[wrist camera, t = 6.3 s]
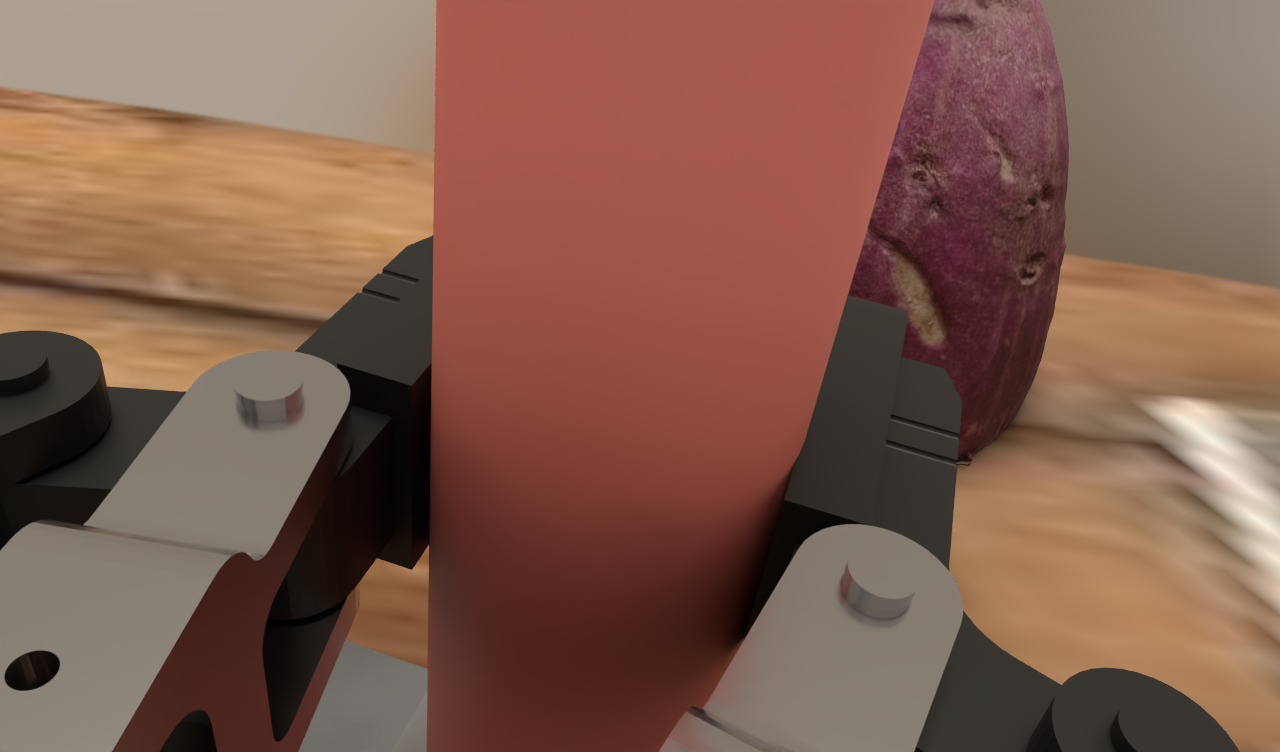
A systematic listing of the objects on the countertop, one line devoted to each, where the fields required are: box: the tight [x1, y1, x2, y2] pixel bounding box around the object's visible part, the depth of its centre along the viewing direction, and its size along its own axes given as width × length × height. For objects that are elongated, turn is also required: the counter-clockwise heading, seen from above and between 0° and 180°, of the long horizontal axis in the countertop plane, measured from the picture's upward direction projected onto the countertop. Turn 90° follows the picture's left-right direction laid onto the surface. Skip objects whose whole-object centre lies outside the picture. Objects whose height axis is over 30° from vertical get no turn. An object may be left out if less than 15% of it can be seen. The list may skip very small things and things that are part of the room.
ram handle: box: [392, 0, 935, 752], centre depth 9 cm, size 5×5×17 cm
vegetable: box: [848, 0, 1069, 465], centre depth 27 cm, size 10×10×15 cm
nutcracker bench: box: [298, 640, 428, 752], centre depth 15 cm, size 22×6×6 cm, turn 73°
